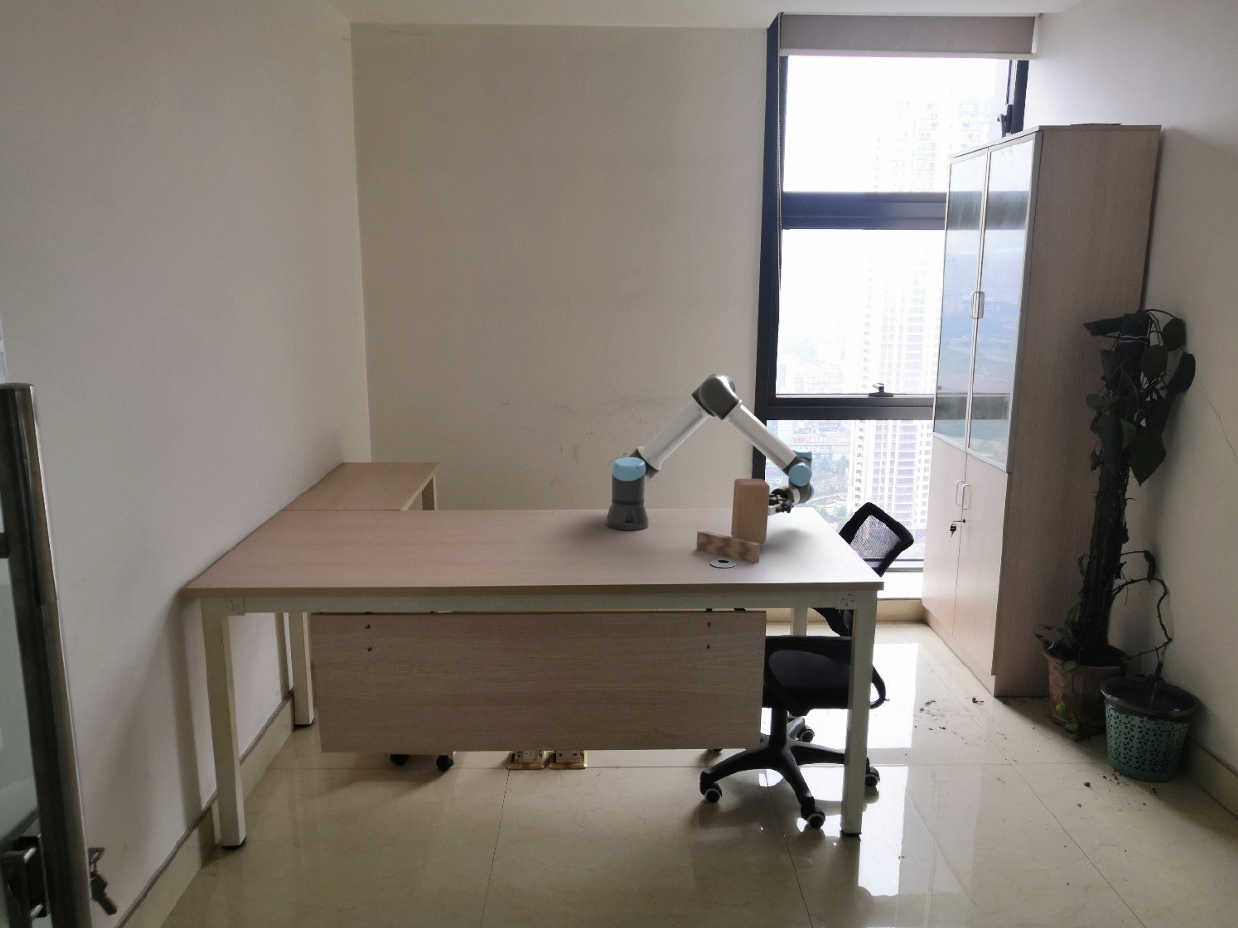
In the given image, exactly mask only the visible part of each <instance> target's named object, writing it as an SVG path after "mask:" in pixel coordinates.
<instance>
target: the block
mask: <svg viewBox="0 0 1238 928" xmlns="http://www.w3.org/2000/svg"><path fill="white" fill-rule="evenodd" d="M733 482H734V484H733V498H732V499H733V501H732V512H731V513H732V514H731V532H730V534H731V537H734V538H738V539H743V540H747V541H751V542H756V543H760V545H764V544H766V542H767V533H768V532H767V531H768V520H769V519H768V517H769V516H768V507H770V506H769V494H771V492H770V491H771V487H770V485H769V483H767V482H766V481H765V480H764V479H762V478H741V477H740V478H739V477H738V478H736V479H734V481H733Z"/></svg>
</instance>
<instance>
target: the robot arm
mask: <svg viewBox="0 0 1238 928" xmlns="http://www.w3.org/2000/svg"><path fill="white" fill-rule="evenodd" d="M715 417H717V418H718V419H720V421H722V422H727V423H728V424H729V425H731V427H733V428H734V429H735V430H736V431H737V432H738V433H739V434H741V436H743V437H744V439H746V440H747V441H748V442H749V443H751V445H753V447H755V448H756V449H757V450H758V451H759V452H761V454H763V455H764V456H765V457H766V458H767V459H768V460H769V461H770V462H772V464H774V465H775V466H776V467H777V468H778V469H779V470H781V472H783V474H784V475H785V476H787V477H788V482H787V485H783V486H781V487H778V488H775V489H773V490H772V491H771V492H770V493H769V506H768V517H771V516H775V515H777V514H779V513H785V512H786V514H791V513H792V512H791V511H792V509H793V508H795V506H798V505H801V504H805V503H807V502H808V501H810V500H812V498H813V496H814V494H815V489H814V487H813V486H814V485H812V483H811V479H812V476H813V469H812V461H813V452H812V451H811V450H809V449H804V448H793V449H791V448H790V447H789V446H788V445H787V444H786V443H785V442H784V441H782V439H780V438H779V437H778V436H777V435H776V434H775V433H774V432H772V430H770V429H769V428H768V427H767V426H766V425H765V424H764V423H763V422H762V421H761V420H759V418H758V417H756V416H755V415H754V414H753V413H752V412H750V410H749V409H747V407H745V406H744V405H743V400H742V399H741V398H740V397H738V395H737V394H736V385H735V383H734V382H733V380H732V379H731V377H729V376H728V375H726V374H725V373H724V374H723V373H713V374H710V375H709V376H708V377H706V378H705V379H704V381H703V382H702V383H701V384H700V385H699V386H698V387H697V388H696V389H695V390H694V391H693V392H692V393H691V395H690V401H689V402H688V403H687V404H686V405H685V406H684V407H683V408H682V409H681V410H680V411H679V412H678V413H677V414H676V415H675V416H674V417H673V418H672V419H671V420H670V421H669V422H667V424H665V426H664V427H663V428H661V429H660V430H659V432H657V434H656V435H655V436H654V437H653V438H652V439H651V440H650V441H649V442H648V443H647V444H645V446H642V445H641V446H638V447H637V448H635V450H634V451H632V453H631V454H629V456H625V457H621V458H617V459H615V460H614V461H613V462H612V468H611V504H610V507H609V509H608V512H607V516H606V518H605V525H606V526H607V527H609V528H611V529H614V530H618V531H619V530H620V531H637V530H639V531H640V530H643V529H646V528H649V525H650V524H649V521H650V520H649V519H650V518H649V517H648V513H647V510H646V509H647V508H646V506H645V497H646V496H645V494H646V492H645V491H646V490H645V489H646V485H647V484H648V483H649V482H650V481H651V480H652V479H654V477H655V476H656V475H657V474H658V473H659V472H660V470H662V463H663V462H664V461H665V460H666V459H667V458H668V457H670V456H671V454H673V452H674V451H675V450H676V449H678V448H679V446H681V445H682V444H683V443H684V442H685V441H686V440H687V439H688V438H689V437H690V436H691V435H692V434H693V433H694V432H695V431H696V430H697V429H698V428H699V427H700V426H701V425H702V424H703V423H704V422H705V421H706V420H707V419H708V418H709V419H711V418H712V419H714V418H715Z"/></svg>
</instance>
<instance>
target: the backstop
mask: <svg viewBox="0 0 1238 928" xmlns="http://www.w3.org/2000/svg"><path fill="white" fill-rule="evenodd" d="M696 534H697V535H696V550H699V551H702V552H707V553H710V554H714V555H718V556H721V557H726V558H730V559H734V560H738V561H741V562H745V561H747V563H749V562H751V564H753V563H754V565H756V564H758V563H759V562H760V554H761V550H760V549H761V544H760V543H756V542H751V541H747V540H743V539H738V538H734V537H732V536H730V535H725V534H722V533H721V534H720V533H715V532H711V531H708V530H702V529H701V530H698V531H696ZM755 563H756V564H755Z"/></svg>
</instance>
